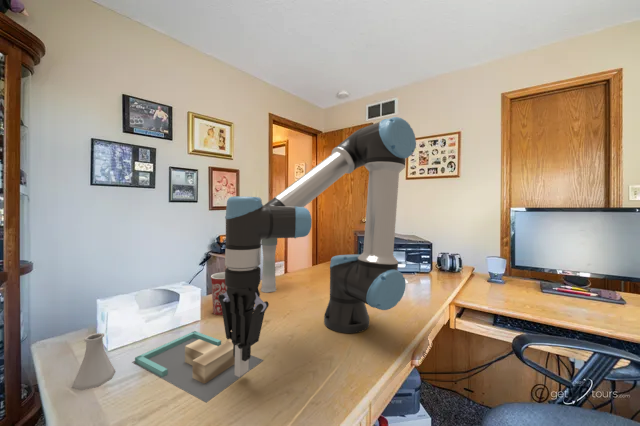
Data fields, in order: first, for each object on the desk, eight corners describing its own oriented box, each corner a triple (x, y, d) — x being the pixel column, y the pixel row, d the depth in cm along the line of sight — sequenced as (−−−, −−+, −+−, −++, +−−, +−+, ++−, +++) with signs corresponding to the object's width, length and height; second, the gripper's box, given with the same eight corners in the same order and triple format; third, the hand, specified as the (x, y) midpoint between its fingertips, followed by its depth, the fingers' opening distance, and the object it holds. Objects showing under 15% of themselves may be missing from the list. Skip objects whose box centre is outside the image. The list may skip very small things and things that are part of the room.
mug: (236, 315, 96) (237, 277, 96) (209, 317, 94) (209, 279, 93) (236, 302, 108) (236, 269, 108) (212, 304, 106) (212, 270, 105)
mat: (263, 361, 68) (263, 355, 68) (206, 404, 53) (206, 396, 53) (193, 335, 81) (193, 329, 81) (131, 363, 66) (131, 357, 66)
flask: (89, 371, 63) (89, 329, 63) (122, 370, 63) (122, 328, 63) (62, 393, 56) (62, 345, 55) (100, 391, 56) (100, 344, 56)
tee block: (238, 361, 67) (239, 345, 67) (204, 383, 58) (204, 365, 58) (208, 349, 73) (209, 334, 72) (173, 368, 64) (173, 351, 64)
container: (262, 286, 130) (263, 224, 130) (281, 287, 129) (282, 225, 128) (255, 292, 121) (255, 225, 120) (275, 294, 120) (276, 226, 119)
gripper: (277, 267, 60) (275, 372, 60) (234, 260, 66) (233, 356, 66) (253, 274, 53) (251, 393, 53) (208, 266, 59) (207, 372, 60)
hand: (241, 372), depth 60 cm, fingers closed
